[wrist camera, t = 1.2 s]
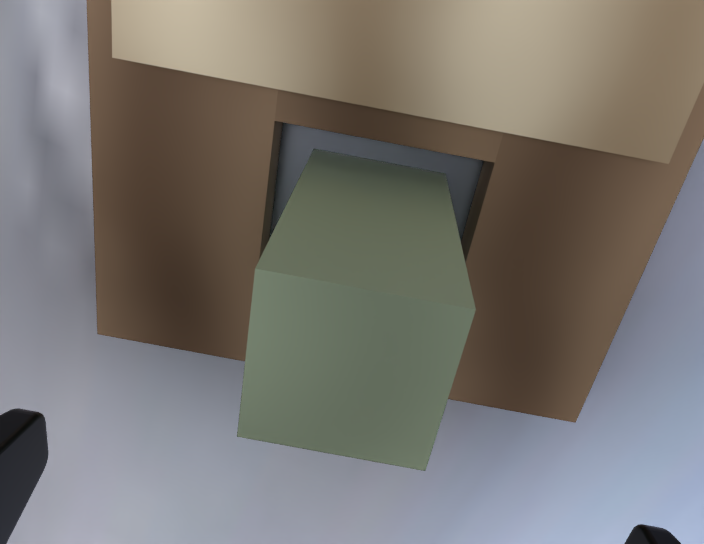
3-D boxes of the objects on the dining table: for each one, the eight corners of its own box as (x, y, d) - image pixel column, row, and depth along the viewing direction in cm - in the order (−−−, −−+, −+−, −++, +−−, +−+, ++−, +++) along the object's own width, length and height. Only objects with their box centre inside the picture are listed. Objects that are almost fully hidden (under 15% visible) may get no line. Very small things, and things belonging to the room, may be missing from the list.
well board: (869, -323, 12) (927, -359, 11) (564, 393, 21) (575, 422, 20) (106, -477, 12) (69, -533, 11) (117, 310, 21) (97, 333, 19)
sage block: (445, 173, 18) (475, 310, 11) (415, 288, 20) (425, 470, 12) (313, 148, 18) (255, 268, 10) (296, 266, 19) (236, 436, 12)
